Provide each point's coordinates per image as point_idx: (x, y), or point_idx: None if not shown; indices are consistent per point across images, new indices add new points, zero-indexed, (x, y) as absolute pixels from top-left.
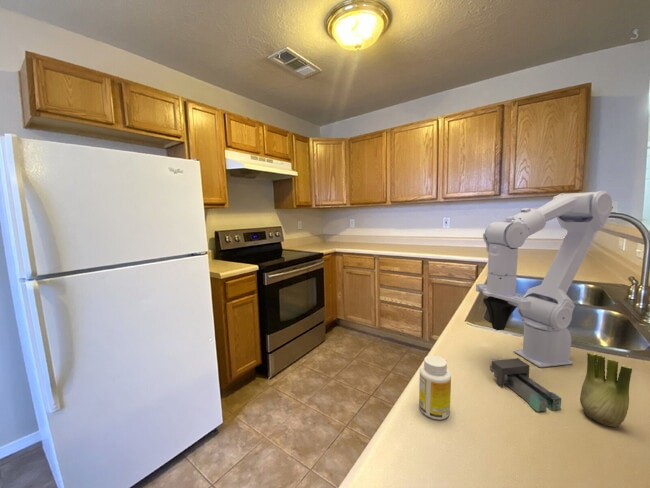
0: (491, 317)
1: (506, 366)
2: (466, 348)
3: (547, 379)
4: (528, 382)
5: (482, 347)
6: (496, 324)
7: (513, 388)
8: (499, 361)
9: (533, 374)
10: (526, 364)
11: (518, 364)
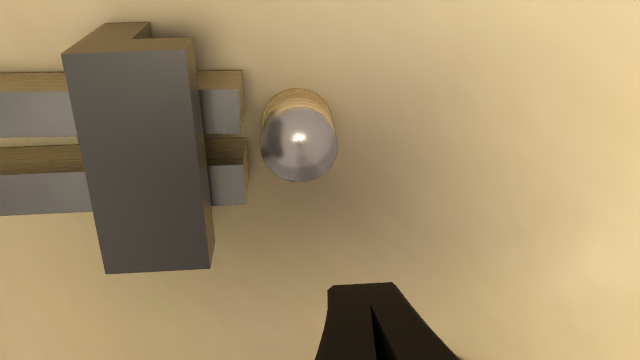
0: (424, 355)
1: (92, 107)
2: (601, 112)
3: (180, 330)
4: (29, 172)
5: (573, 226)
6: (329, 323)
7: (59, 76)
8: (170, 105)
9: (232, 299)
10: (119, 264)
11: (121, 213)
